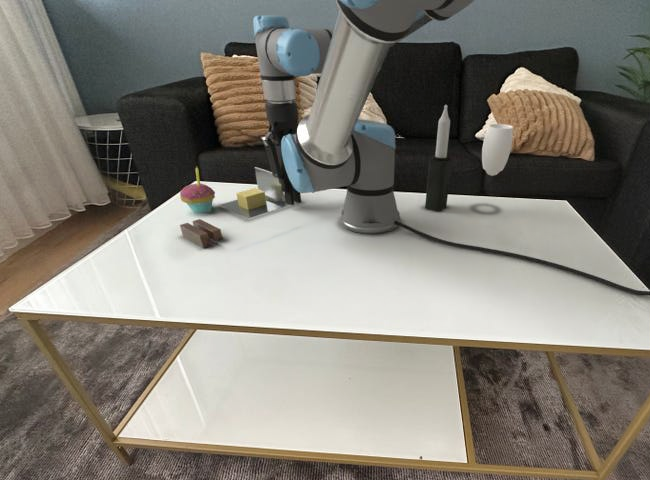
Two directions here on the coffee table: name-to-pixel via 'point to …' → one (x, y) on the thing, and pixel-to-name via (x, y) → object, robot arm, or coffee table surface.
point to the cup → (496, 147)
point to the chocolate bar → (201, 233)
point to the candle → (439, 168)
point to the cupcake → (198, 196)
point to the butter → (251, 198)
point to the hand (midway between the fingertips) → (293, 202)
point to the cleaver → (269, 184)
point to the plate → (257, 211)
